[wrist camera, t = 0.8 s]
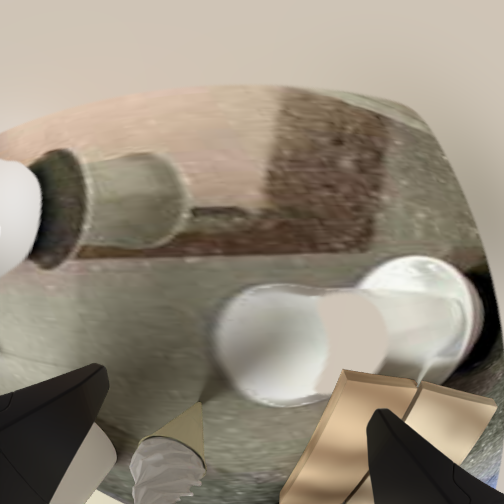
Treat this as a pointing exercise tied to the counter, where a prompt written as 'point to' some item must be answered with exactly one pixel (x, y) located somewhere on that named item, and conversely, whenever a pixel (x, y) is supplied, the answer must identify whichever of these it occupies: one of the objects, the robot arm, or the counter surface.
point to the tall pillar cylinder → (86, 468)
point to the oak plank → (440, 426)
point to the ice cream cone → (170, 460)
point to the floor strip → (344, 438)
